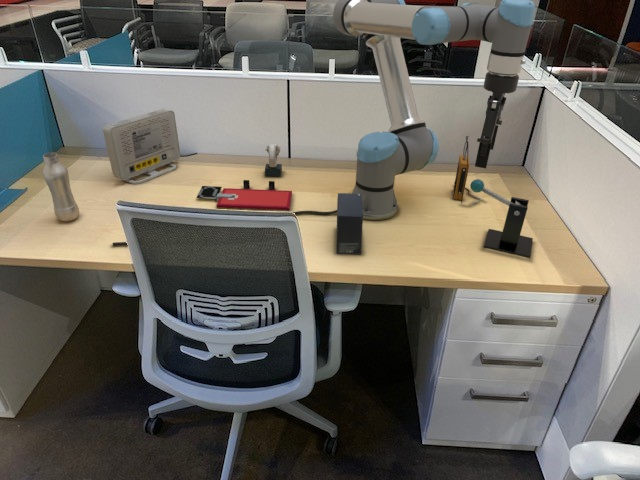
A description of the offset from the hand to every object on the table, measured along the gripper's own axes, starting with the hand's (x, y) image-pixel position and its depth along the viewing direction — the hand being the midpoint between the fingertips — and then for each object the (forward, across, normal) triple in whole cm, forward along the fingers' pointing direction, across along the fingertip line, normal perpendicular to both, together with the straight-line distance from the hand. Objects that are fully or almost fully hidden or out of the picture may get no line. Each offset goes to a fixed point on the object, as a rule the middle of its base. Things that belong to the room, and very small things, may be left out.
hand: (484, 157), depth 124 cm
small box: (+25, -17, +30) cm, 42 cm away
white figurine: (+25, +13, +70) cm, 76 cm away
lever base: (+24, 0, -11) cm, 27 cm away
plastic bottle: (+25, -41, +109) cm, 119 cm away
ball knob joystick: (+12, 0, -5) cm, 13 cm away
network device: (+25, -5, +110) cm, 113 cm away
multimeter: (+25, +26, +4) cm, 36 cm away
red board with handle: (+25, -7, +69) cm, 74 cm away
